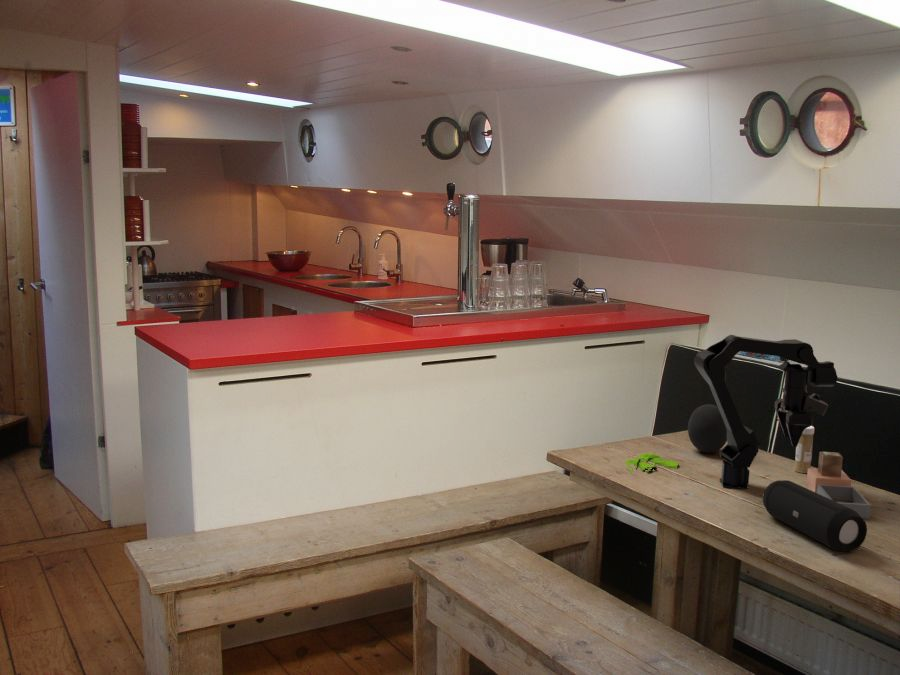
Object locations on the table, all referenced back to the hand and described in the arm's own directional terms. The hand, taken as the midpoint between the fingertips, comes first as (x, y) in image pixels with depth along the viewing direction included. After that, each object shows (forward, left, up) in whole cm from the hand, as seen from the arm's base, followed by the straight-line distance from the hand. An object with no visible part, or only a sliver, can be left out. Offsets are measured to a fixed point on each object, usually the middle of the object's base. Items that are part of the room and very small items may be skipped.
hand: (790, 441), depth 245 cm
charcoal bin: (+10, -17, -12) cm, 23 cm away
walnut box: (+10, -3, -8) cm, 13 cm away
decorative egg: (-18, +27, -12) cm, 35 cm away
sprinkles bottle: (+7, +13, -12) cm, 19 cm away
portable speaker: (-3, -37, -12) cm, 39 cm away
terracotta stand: (+10, -3, -12) cm, 16 cm away
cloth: (-36, +9, -13) cm, 39 cm away
